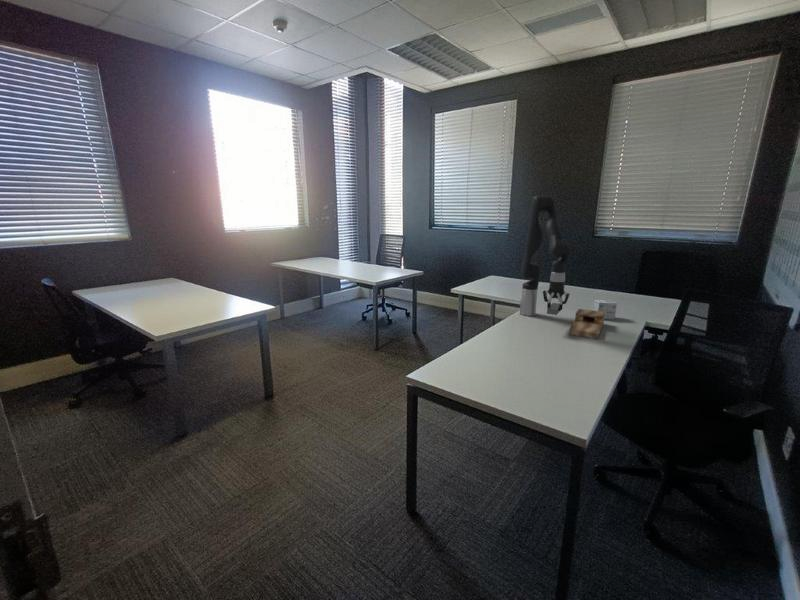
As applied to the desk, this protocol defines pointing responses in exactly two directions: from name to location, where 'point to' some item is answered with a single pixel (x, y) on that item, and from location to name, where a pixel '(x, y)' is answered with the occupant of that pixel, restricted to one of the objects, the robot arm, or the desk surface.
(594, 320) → the wooden box
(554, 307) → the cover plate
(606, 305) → the light bulb box
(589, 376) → the desk surface
